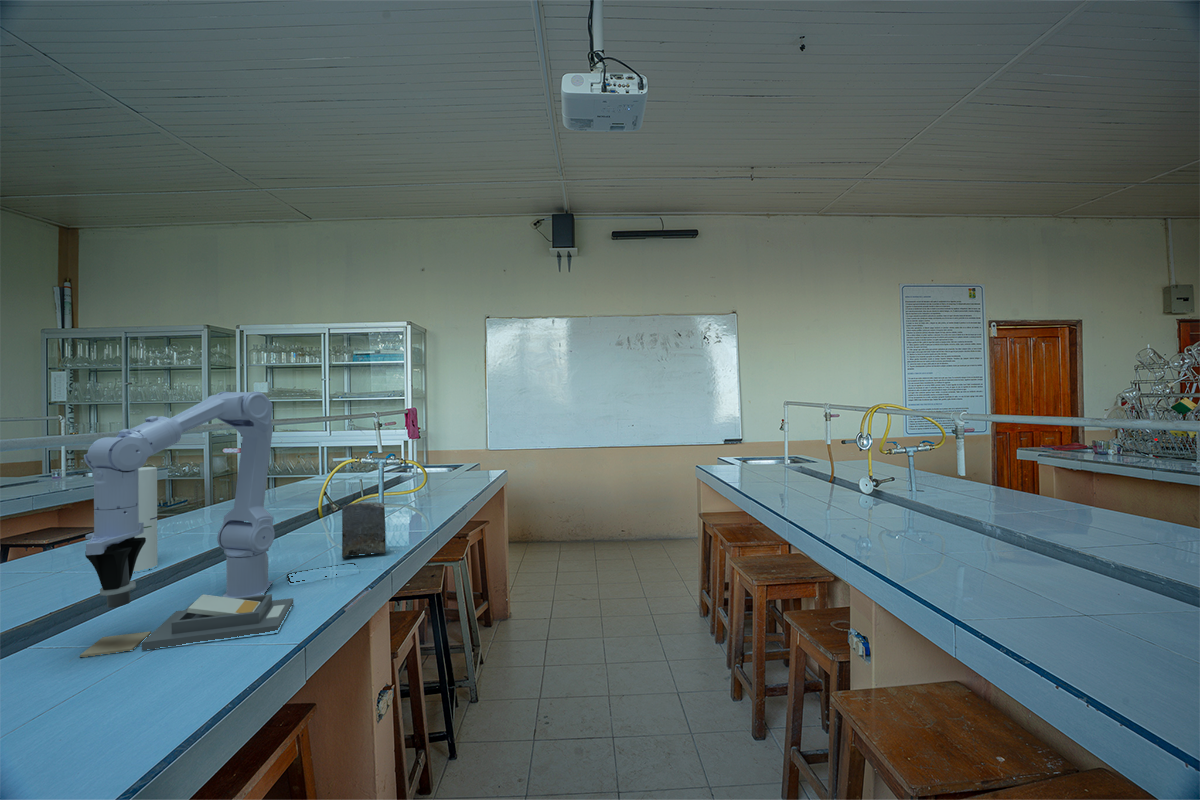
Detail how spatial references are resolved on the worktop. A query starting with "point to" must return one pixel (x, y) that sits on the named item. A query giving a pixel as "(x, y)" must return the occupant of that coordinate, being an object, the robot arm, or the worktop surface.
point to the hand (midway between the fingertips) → (117, 585)
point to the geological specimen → (363, 528)
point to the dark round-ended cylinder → (120, 590)
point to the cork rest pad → (115, 644)
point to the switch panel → (219, 624)
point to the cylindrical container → (147, 517)
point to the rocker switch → (222, 606)
